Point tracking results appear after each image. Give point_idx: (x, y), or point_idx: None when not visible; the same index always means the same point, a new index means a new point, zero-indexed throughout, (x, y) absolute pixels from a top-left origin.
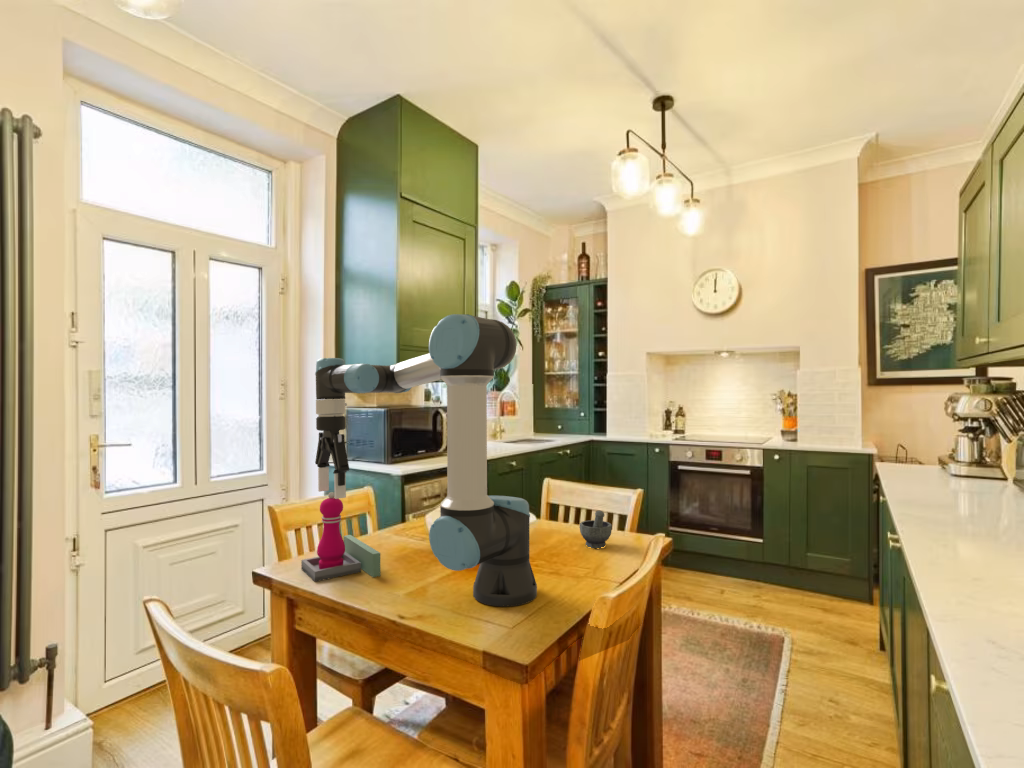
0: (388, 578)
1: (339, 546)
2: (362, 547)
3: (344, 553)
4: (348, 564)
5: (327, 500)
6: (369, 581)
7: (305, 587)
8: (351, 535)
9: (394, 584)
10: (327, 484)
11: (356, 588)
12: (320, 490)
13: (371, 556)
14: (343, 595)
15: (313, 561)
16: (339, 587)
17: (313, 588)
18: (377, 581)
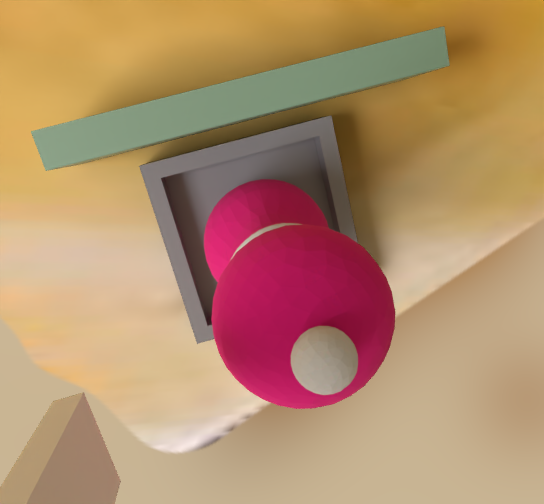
0: (439, 22)
1: (320, 213)
2: (316, 99)
3: (165, 171)
4: (334, 168)
5: (360, 376)
6: (437, 99)
7: (395, 310)
8: (51, 127)
9: (509, 13)
10: (67, 452)
11: (481, 153)
12: (113, 477)
13: (424, 72)
14: (520, 199)
15: (199, 296)
16: (446, 207)
17: (416, 286)
18: (450, 70)
